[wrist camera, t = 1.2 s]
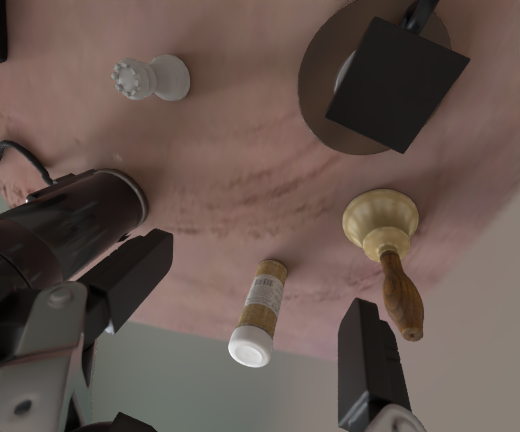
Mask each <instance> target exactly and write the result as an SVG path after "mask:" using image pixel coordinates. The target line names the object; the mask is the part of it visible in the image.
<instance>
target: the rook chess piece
mask: <svg viewBox="0 0 520 432" xmlns="http://www.w3.org/2000/svg"><path fill="white" fill-rule="evenodd" d="M113 68H114V69H115V73H111V78H112V80H116V82H117V85H115V86H114V87H115V88H116V89H117V91H122V92H123V95H124V96H127V97H128V98H130V99H133V100H140V99H143V98H144V97H145V96H150V95H152V94H156V95H157V96H159V97H160V98H162V99H165V100H168V101H177V100H181V99H182V98H184V97H185V96H186V95H187V93H188V91H189V88H190V76H189V72H188V69H187V68H186V66H185V64H184V63H183V62H182V61H181V60H180V59H179V58H177V57H176V56H173V55H169V54H167V55H160V56H156V57H155V58H154V59H153V60H152V61H151V62H150V64H146V63H143V62H137V61H136V60H135V59H131V58H125V59H122V60H121V61H120V62H119V63H118V64H116V65H115V66H114V67H113Z"/></svg>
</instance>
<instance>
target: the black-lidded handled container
mask: <svg viewBox="0 0 520 432" xmlns="http://www.w3.org/2000/svg"><path fill="white" fill-rule="evenodd" d="M439 1H440V0H416V1H414V2H413V3H412V4H411V5H410V6H409V7H408V8H407V10H406V12H405V14H404V15H403V17H402V19H401V21H400V23H399V25H398V26H397V25H395V24H392V23H390V22H388V21H386V20H384V19H381V18H379V17H377V16H375V17H374V18H373V19H372V20H371V22H370V23H369V24H368V26H367V28H366V30H365V32H364V34H363V36H362V38H361V40H360V42H359V44H358V46H357V48H356V50H355V51H354V52H353V53H352V54H351V55H349V56H348V57H347V58H346V59H345V61H344V62H343V63H342V65H341V66H340V68H339V70H338V72H337V74H336V77H335V81H334V95H333V97H332V99H331V101H330V103H329V105H328V107H327V109H326V111H325V117H324V118H325V119H328V120H330V121H332V122H334V123H336V124H339V125H341V126H343V127H345V128H347V129H349V130H352V131H354V132H356V133H358V134H360V135H362V136H365V137H367V138H369V139H371V140H373V141H375V142H378V143H380V144H382V145H384V146H386V147H388V148H391V149H393V150H395V151H397V152H399V153H401V154H404V152H405V151H406V150H407V148H408V147H409V145H410V144H411V143H412V141H413V140H414V138H415V137H416V136H417V134H418V133H419V131H420V130H421V129H422V127H423V126H424V124H425V123H426V122H427V120H428V119H429V117H430V116H431V115H432V113H433V112H434V110H435V109H436V108H437V106H438V105H439V103H440V102H441V101H442V99H443V98H444V96H445V95H446V94H447V92H448V91H449V89H450V88H451V87H452V85H453V84H454V82H455V81H456V80H457V78H458V77H459V75H460V74H461V73H462V71H463V70H464V68H465V67H466V66H467V64H468V63H469V61H470V58H467V57H465V56H463V55H461V54H459V53H456V52H454V51H452V50H450V49H448V48H445V47H443V46H441V45H439V44H437V43H434V42H432V41H430V40H428V39H426V38H423V37H421V36H419V34H420V33H421V31H422V29H423V28H424V26H425V24H426V23H427V21H428V19H429V18H430V16H431V14H432V13H433V11H434V9H435V7H436V6H437V4H438V2H439Z"/></svg>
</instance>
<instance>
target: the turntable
mask: <svg viewBox="0 0 520 432" xmlns="http://www.w3.org/2000/svg"><path fill="white" fill-rule="evenodd" d="M414 1H416V0H357V1H355V2H353V3H350V4H349V5H347V6H345V7H344V8H342V9H341V10H339V11H338V12H337V13H336V14H334V15H333V16H332V17H331V18H330V19H329V20H328V21H327V22H326V23H325V24H324V25H323V26H322V27H321V28H320V30H319V31H318V32H317V33H316V35H315V36H314V38H313V39H312V41H311V43H310V44H309V46H308V48H307V50H306V53H305V55H304V57H303V60H302V63H301V67H300V71H299V76H298V85H297V88H298V102H299V107H300V111H301V114H302V116H303V119H304V121H305V123H306V125H307V126H308V128H309V130H310V131H311V132H312V133H313V135H314V136H315V137H316V138H317V139H318V140H319V141H321V142H322V143H323V144H325V145H326V146H328V147H330V148H332V149H333V150H336V151H339V152H342V153H346V154H352V155H369V154H376V153H380V152H384V151H386V150H389V149H391V148H388V147H386V146H384V145H382V144H380V143H378V142H375V141H373V140H371V139H369V138H367V137H365V136H362V135H360V134H358V133H356V132H354V131H352V130H349V129H347V128H345V127H343V126H341V125H339V124H336V123H334V122H332V121H330V120H328V119H325V118H324V117H325V111H326V109H327V107H328V105H329V103H330V101H331V99H332V97H333V95H334V81H335V77H336V74H337V72H338V70H339V68H340V66H341V65H342V63H343V62H344V61H345V59H346V58H347V57H348V56H349V55H351V54H352V53H353V52H354V51H355V50H356V48H357V46H358V44H359V42H360V40H361V38H362V36H363V34H364V32H365V30H366V28H367V26H368V24H369V23H370V22H371V20H372V19H373V18H374V17H375V16H377V17H379V18H381V19H384V20H386V21H388V22H390V23H392V24H395V25H397V26H398V25H399V23H400V21H401V19H402V17H403V15H404V14H405V12H406V10H407V8H408V7H409V6H410V5H411V4H412V3H413V2H414ZM419 36H421V37H423V38H426V39H428V40H430V41H432V42H434V43H437V44H439V45H441V46H443V47H445V48H448V49H450V50H452V48H451V43H450V38H449V36H448V33H447V30H446V28H445V26H444V24H443V23H442V21H441V19H440V18H439V17H438V15H437V14H436V13H435V12H434V11H433V13H432V14H431V16H430V18H429V19H428V21H427V23H426V24H425V26H424V28H423V29H422V31H421V33H420V34H419ZM440 103H441V102H440ZM440 103H439V105H440ZM439 105H438V106H437V108H438V107H439ZM437 108H436V109H435V110H434V112H433V113H432V115H431V116H430V117H429V119H428V120H427V122H428V121H429V120H430V118H431V117H432V116H433V115H434V113H435V112H436V110H437ZM427 122H426V123H427ZM426 123H425V124H426ZM425 124H424V125H425Z"/></svg>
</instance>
